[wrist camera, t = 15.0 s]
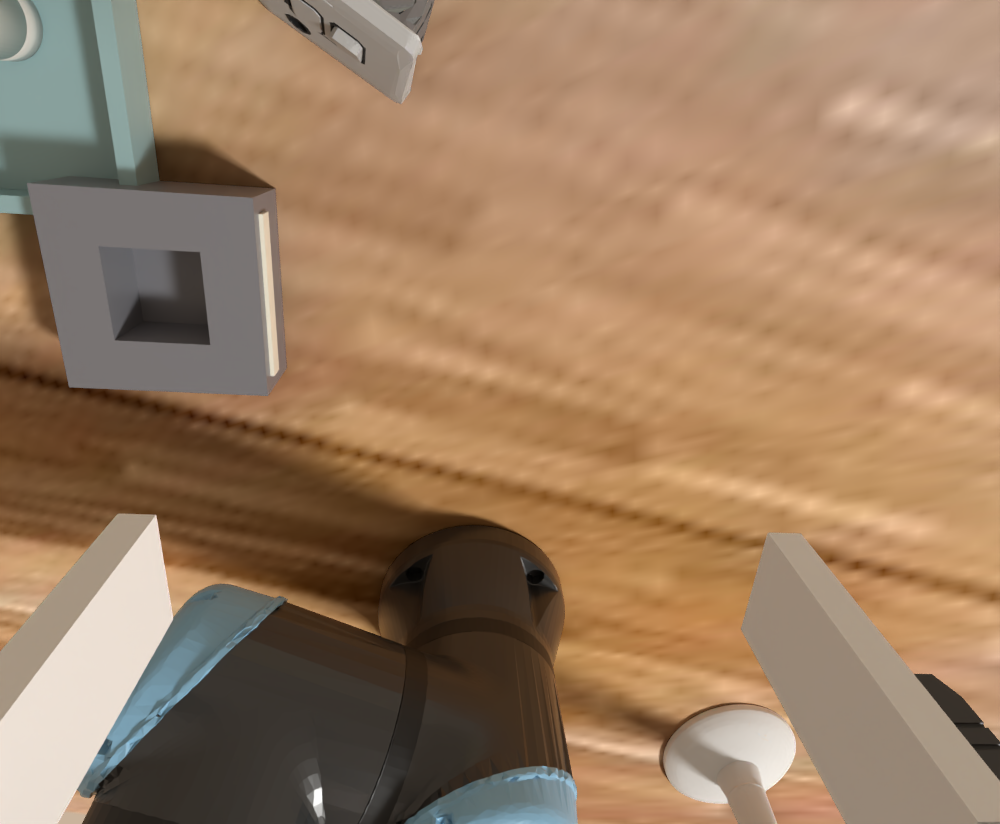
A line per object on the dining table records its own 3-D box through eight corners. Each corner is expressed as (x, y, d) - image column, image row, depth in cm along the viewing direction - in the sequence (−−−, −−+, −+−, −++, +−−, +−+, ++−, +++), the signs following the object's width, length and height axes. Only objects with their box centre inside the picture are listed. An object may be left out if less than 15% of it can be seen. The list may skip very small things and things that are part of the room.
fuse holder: (290, 368, 47) (271, 396, 42) (108, 359, 46) (69, 387, 41) (279, 188, 42) (257, 198, 37) (75, 175, 41) (26, 183, 36)
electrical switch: (259, 4, 38) (212, -46, 29) (305, -84, 37) (269, -162, 28) (401, 108, 41) (397, 90, 32) (448, 29, 39) (456, -12, 31)
